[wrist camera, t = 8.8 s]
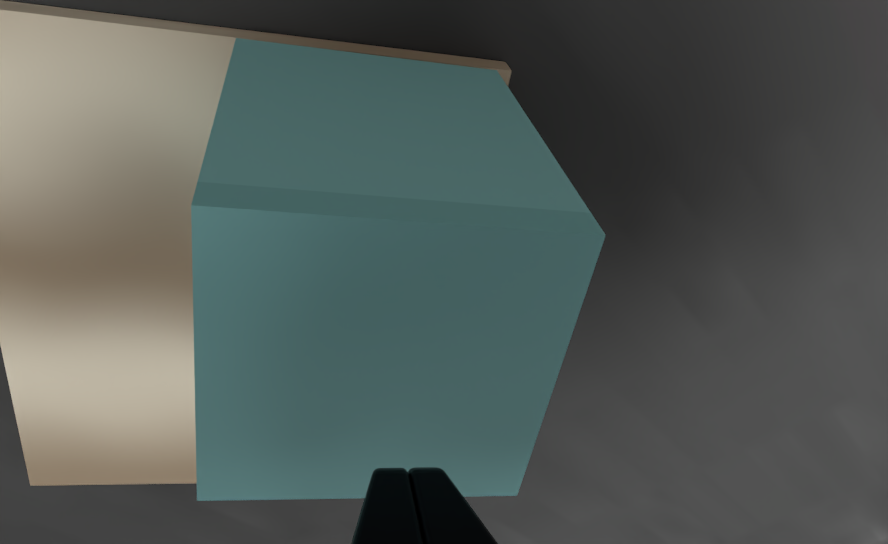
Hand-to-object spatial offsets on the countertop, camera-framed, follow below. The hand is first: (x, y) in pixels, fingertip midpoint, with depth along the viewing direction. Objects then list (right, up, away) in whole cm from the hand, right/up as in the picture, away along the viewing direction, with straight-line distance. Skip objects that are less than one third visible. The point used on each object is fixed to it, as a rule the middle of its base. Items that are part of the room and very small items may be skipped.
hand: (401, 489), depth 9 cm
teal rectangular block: (-1, +5, +7) cm, 9 cm away
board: (-5, +2, +9) cm, 11 cm away
